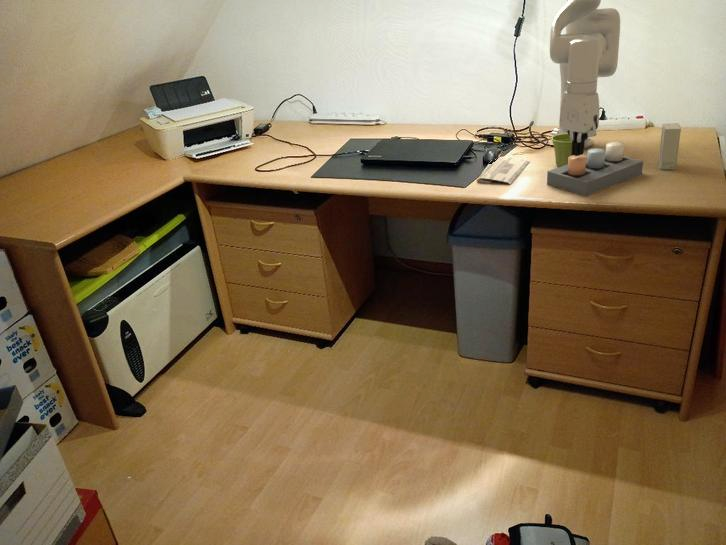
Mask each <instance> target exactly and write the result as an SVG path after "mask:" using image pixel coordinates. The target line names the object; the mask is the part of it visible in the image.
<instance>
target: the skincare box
mask: <svg viewBox="0 0 726 545" xmlns="http://www.w3.org/2000/svg"><path fill="white" fill-rule="evenodd" d="M661 125H662V127H661V136H660V145H659V153H658V154H659V155H658V167H659V169H660V170H676V169H677V164H678V156H679V146H680V138H681V132H682V126H680V123H679V122H678V123H662V124H661Z"/></svg>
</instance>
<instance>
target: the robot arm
mask: <svg viewBox="0 0 726 545" xmlns="http://www.w3.org/2000/svg"><path fill="white" fill-rule="evenodd" d="M601 1H602V0H566V4H565V5H564V6H562V7H561V9H560V10H559V11H558V12H557V14H556V15H555V17H554V19H553V21H552V23H551V28H550V36H549V38H550V39H549V58H550V60H551V61H552V62H553V63H554V64H558V65H559V72H560V73H559V75H560V107H559V121H558V122H559V124H558V125H559V127H558V128H556V127H555V128H554V129H553V131H551V134H550V135H551V136H555V135H558V134H569V136H570V140H571V141H572V152H571V155H573V156H574V155H575V156H579V155H582V156H583V155H584V152H585V149H588V148H590V147H592V145H593V143H594V142H593V139H592V138H593V137H596V136H597V130H598V128H599V123H600V98H599V93H598V92H597V91H598V90H597V89H598V78H608V77H612V76H613V75H615V73H616V71H617V68H618V62H619V49H620V38H621V36H620V35H621V16H620V13H619V11H618V10H617V9H616V8H614V7H605V8H603V7H602V8H599V7H600V4H601ZM564 29H565V34H564V33H563V34H562V31H563V30H564Z"/></svg>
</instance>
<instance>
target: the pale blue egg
mask: <svg viewBox="0 0 726 545" xmlns="http://www.w3.org/2000/svg"><path fill="white" fill-rule="evenodd" d="M605 152H606V149H603V148H590V149H588V150H587V154H586V155H587V156H586V157H587V167H590V168H602V167H604V164H605Z"/></svg>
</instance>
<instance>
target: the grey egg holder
mask: <svg viewBox="0 0 726 545" xmlns="http://www.w3.org/2000/svg"><path fill="white" fill-rule="evenodd" d="M605 154H606V152H605ZM585 157H586V170H585V174H583V175H570V174H568V173H567V171H568V164H567V165H564V166H561V167H560V166H558V167H556V168H553V169H550V170H547V171H546V172H547V173H546V174H547V175H546V185H547V186H551V187H554V188H558V189H560V190H562V191H564V190H565V191H567V192H571V193H574V194H577V195H580V196H583V197H588V196H591V195H592V194H595V193H598V192H601V191H604V190H605V189H607V188H610V187H613V186H616V185H618V184H620V183H622V182H626V181H628V180H630V179H633V178H636V177H638V176H641V175H642V174H643V170H644V169H643V167H644V160H641V159H636V158H632V157H629V156H624V155H623V159H622V160H621V161H608V160H606V159H605V164H604V167H602V168H590V167H587V156H585Z"/></svg>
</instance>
